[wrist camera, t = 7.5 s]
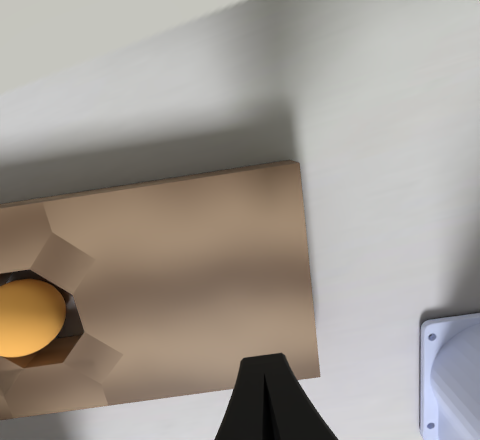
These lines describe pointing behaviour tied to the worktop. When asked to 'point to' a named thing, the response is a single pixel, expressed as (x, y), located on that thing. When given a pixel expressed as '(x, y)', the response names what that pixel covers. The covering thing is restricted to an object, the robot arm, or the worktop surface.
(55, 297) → the ball
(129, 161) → the worktop surface
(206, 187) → the hole board
